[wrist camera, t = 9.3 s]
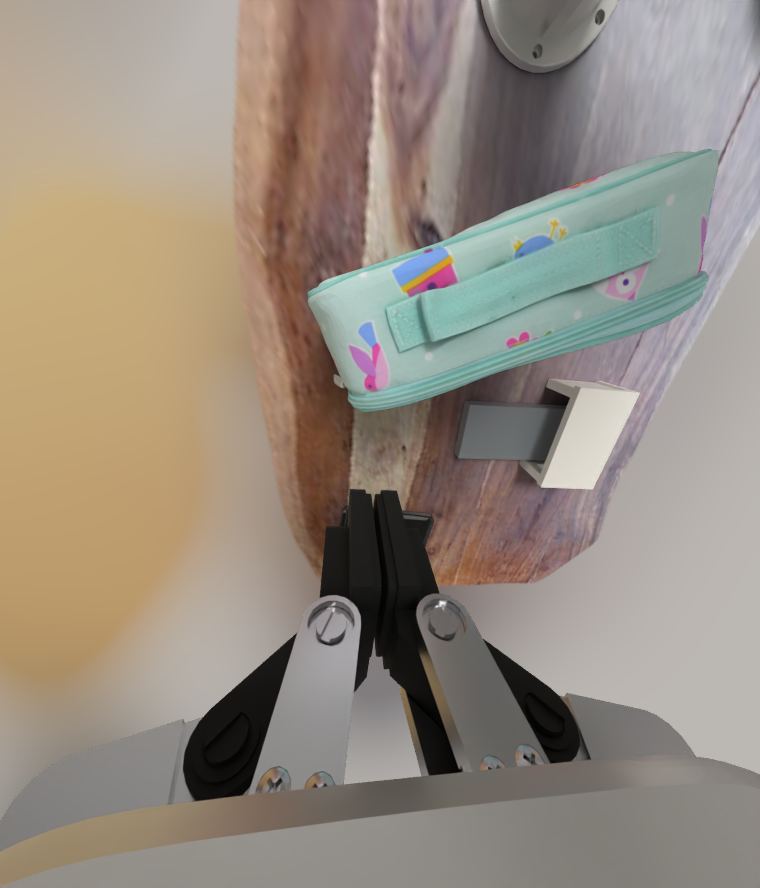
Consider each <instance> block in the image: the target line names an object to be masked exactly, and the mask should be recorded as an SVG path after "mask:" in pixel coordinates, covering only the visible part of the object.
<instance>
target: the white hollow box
mask: <svg viewBox="0 0 760 888" xmlns="http://www.w3.org/2000/svg"><path fill="white" fill-rule="evenodd" d="M546 387H547V388H549V389H552V390H554V391H556V392H559V393H561V394H563V395H566V396H568V397H570V400H569V402H568V405H567V407H566V410H565V413H564V415H563V418H562V420H561V423H560V425H559V428H558V430H557V433H556V435H555V438H554V440H553V443H552V446H551V448H550V451H549V453H548V456H547V458H546V460H520V462H519V465H520V466H521V467H522V468H524V469H525V470H526V471H527V472H528V473H529V474H530V475H531V476H532V477H533V478H534V479H535V480H536V481H537V484H538V485H539V486H540V487H544V488H572V489H593V487H594V485H595V483H596V481H597V479H598V477H599V475H600V473H601V471H602V469H603V467H604V465H605V463H606V461H607V459H608V457H609V455H610V453H611V451H612V449H613V447H614V445H615V443H616V441H617V439H618V437H619V435H620V433H621V431H622V429H623V427H624V425H625V423H626V421H627V419H628V417H629V415H630V413H631V411H632V408H633V406H634V404H635V402H636V400H637V398H638V396H639V394H640V393H639V392H636V391H632V390H629V389H626V388H623V387H620V386H616V385H613V384H610V383H607V382H604V381H597V380H595V383H594V382H583V381H572V380H561V379H550V378H549V379H548V382H547V385H546Z"/></svg>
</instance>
